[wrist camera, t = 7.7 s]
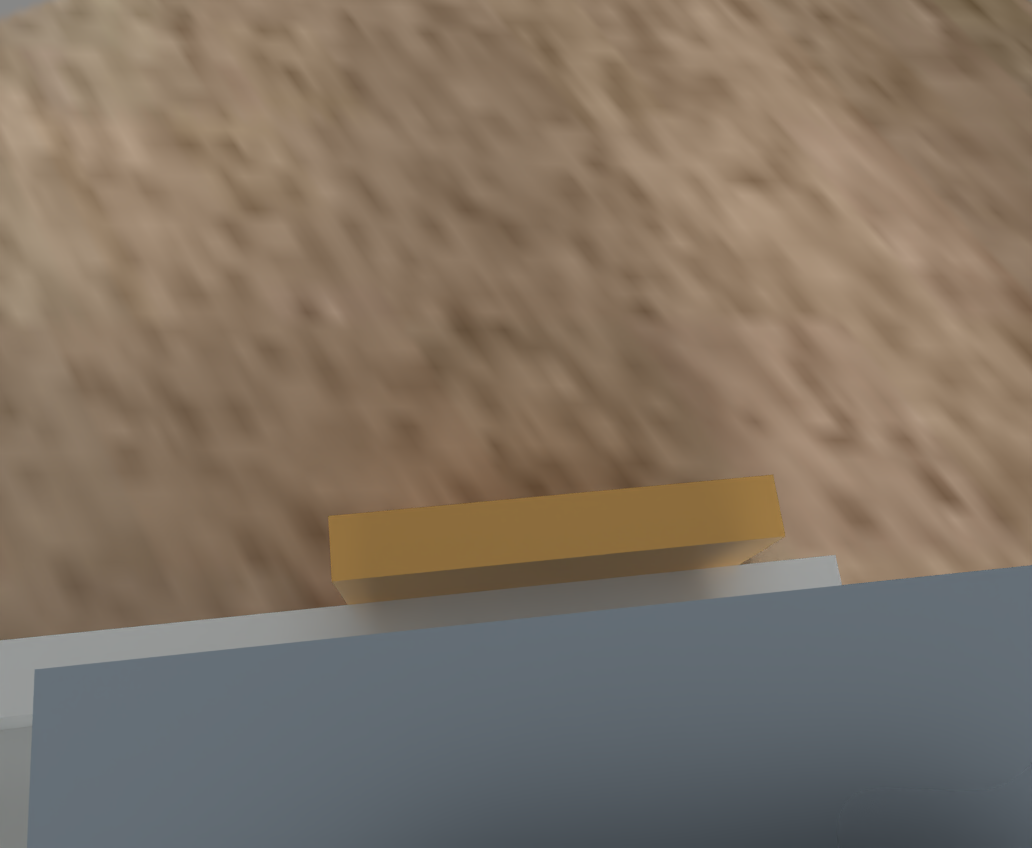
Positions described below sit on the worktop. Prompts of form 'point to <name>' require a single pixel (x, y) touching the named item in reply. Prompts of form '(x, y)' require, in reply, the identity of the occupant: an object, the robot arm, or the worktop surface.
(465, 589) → the rack
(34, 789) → the brushed metal pillar
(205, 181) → the worktop surface
